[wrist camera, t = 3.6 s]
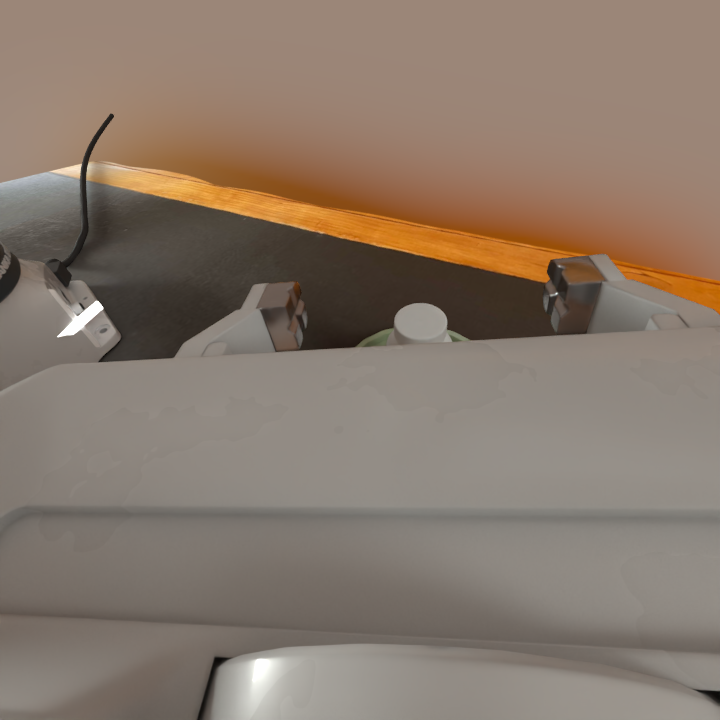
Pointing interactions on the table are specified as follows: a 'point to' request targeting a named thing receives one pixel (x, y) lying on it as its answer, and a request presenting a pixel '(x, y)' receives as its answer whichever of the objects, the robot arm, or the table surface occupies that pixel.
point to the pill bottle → (419, 325)
